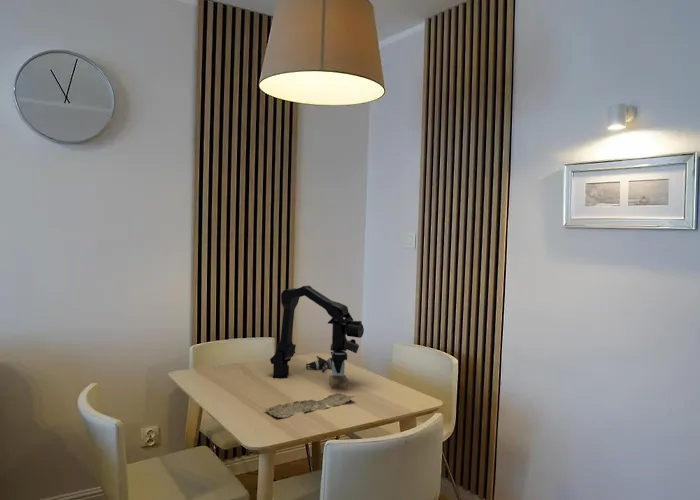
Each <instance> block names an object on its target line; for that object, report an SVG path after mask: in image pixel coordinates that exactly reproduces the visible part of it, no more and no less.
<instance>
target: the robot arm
mask: <svg viewBox="0 0 700 500" xmlns="http://www.w3.org/2000/svg"><path fill="white" fill-rule="evenodd" d="M301 297H305V298H307V299H309V300H311V301H312V302H314V303H315V304H317V305H318V306H319V307H321V308H323V309H324V310H325V311H326V312H327V314H328V315H329V317H331V319H330V320H328V322H327V324H330V325H332V327H331V328H332V331H331V333H332V334H331V335H332V336H331V344H330V348H329V349H330V354H331V358H332V360H333V363H334V366H335V369H336V372H337V373H340V370H341V366H342V362H343V361H344V362H345V361H347V360H348V353H347V351H350V352H351V353H354V354H357V353H358V350H359V347H360V345H359V344H358V343H356V339H354V338H361V339H362V337H363V335H364V333H365V332H364V331H365V327H364V325H363V323H362V321H361V320H354V318H353V317H352V315H351V313H350V311H349V308H348V306H347V305H345V304H343V303H341V302H337V301H334V300H331V299H330V298H328V297H327V296H325V295H324V294H322V293H321V292H319V291H318V290H316V289H315V288H314V287H312V286H311V285H302V286H301V287H297V288H288V289H284V290H283V291H282V292H281V294H280V300H281V301H280V302H281V305H282V308H283V313H282V321H281V322H282V323H281V330H280V331H281V332H280V333H281V334H280V340H279V342H278V343H277V345H276V350H275V352H274V355H273V356H272V357H270V360H269V361H270V363H271V365H272V366H273V367H272V368H273V370H272V371H273V372H272V373H273V375H272V378H273V379H275V378H276V379H283V378H285V379H286V378H287V379H288V377H289V375H290V365H289V362H291V360H292V358H293V357H294V355H295V354H296V347H297V346H296V344H294V343H293V341H292V339H293V328H294V319H295V309H296V308H297V306H298V304H299V300H300V298H301ZM346 336H347V337H352V338H351V339H350V340H348V339H347V337H346Z"/></svg>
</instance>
